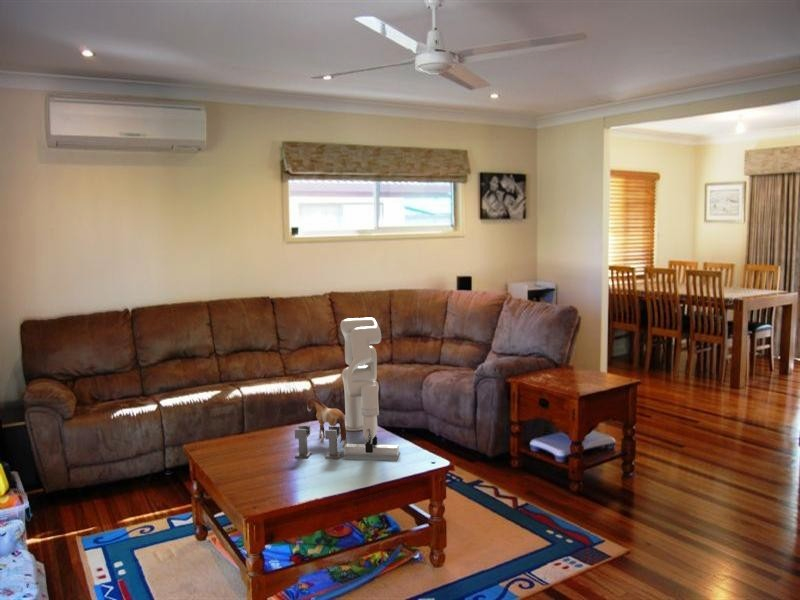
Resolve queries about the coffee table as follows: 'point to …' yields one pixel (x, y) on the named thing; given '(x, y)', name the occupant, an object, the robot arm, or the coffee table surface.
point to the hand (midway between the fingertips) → (371, 448)
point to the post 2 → (333, 442)
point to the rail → (377, 450)
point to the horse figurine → (328, 417)
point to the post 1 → (303, 441)
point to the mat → (370, 457)
